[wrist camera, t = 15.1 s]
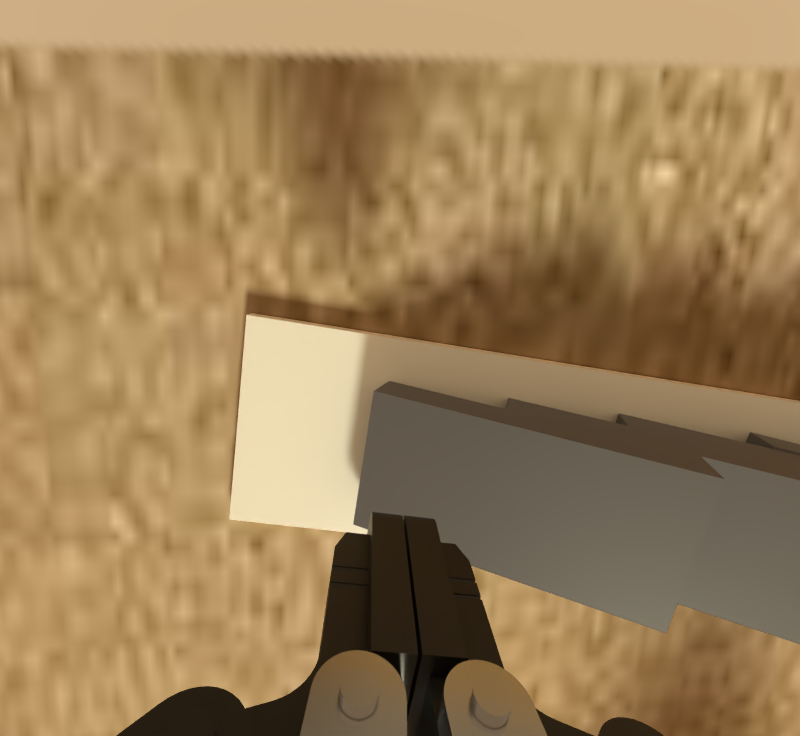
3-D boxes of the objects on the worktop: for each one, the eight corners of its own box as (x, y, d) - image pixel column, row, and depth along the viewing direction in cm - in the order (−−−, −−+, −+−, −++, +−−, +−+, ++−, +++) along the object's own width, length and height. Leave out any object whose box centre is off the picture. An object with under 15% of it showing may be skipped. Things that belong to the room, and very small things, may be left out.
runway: (234, 510, 16) (229, 519, 16) (251, 312, 14) (246, 315, 14) (788, 572, 19) (801, 582, 18) (862, 410, 17) (880, 415, 16)
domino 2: (475, 537, 15) (803, 645, 12) (505, 409, 14) (874, 498, 11) (480, 514, 16) (773, 607, 14) (508, 397, 15) (833, 473, 13)
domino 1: (353, 524, 14) (666, 633, 12) (373, 390, 13) (724, 479, 11) (369, 502, 16) (650, 595, 13) (389, 380, 15) (700, 456, 12)
